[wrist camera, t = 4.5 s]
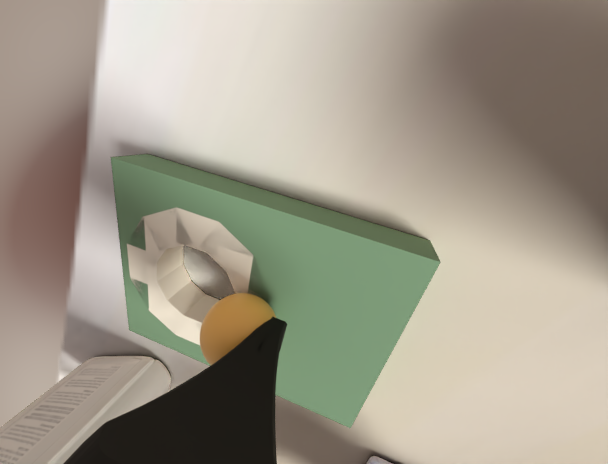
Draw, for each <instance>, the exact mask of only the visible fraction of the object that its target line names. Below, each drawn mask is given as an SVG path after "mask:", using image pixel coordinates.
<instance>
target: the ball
mask: <svg viewBox="0 0 608 464" xmlns="http://www.w3.org/2000/svg"><path fill="white" fill-rule="evenodd" d="M272 316H273V317H275V318H276V315H275V313H274V311H273V310H272V308H271V307H270V305H269V304H268V303H267V302H266V301H265V300H263V299H262V298H260V297H258V296H256V295H253V294H248V293H237V294H232V295H229V296H227V297H225V298H223V299H221V300H220V301H218V302H217V303H216V304H215V305H214V306H213V307H212V308H211V309H210V310H209V311H208V313H207V314H206V316H205V318H204V320H203V323H202V325H201V329H200V347H201V350H202V353H203V355H204V357H205V359H206V361H207V362H208V363H209V364H210V365H212V364H214V363H215V362H217V361H218V360H219V359H221V358H222V357H223V356H225V355H226V354H227V353H228V352H230V351H231V350H232V349H234V348H235V347H236V346H237V345H238V344H240V343H241V342H242V341H243V340H244V339H245V338H247V337H248V336H249V335H250V334H251V333H252V332H253V331H254V330H255V329H256V328H258V327H259V326H260V325H262V324H263V323H264V322H266V321H268V320H270V319H271V318H272Z"/></svg>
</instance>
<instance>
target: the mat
mask: <svg viewBox="0 0 608 464" xmlns="http://www.w3.org/2000/svg"><path fill="white" fill-rule="evenodd" d="M111 164H112V173H113V182H114V192H115V201H116V211H117V220H118V230H119V239H120V249H121V258H122V267H123V277H124V286H125V296H126V305H127V315H128V324H129V330H130V331H132V332H135V333H137V334H139V335H141V336H144V337H146V338H148V339H150V340H153V341H155V342H157V343H160V344H162V345H164V346H166V347H169V348H171V349H173V350H175V351H178V352H180V353H182V354H184V355H187V356H189V357H191V358H193V359H196V360H198V361H200V362H202V363H205V364H207V365H209V366H211V365H210V364H209V363H208V362H207V361H206V359H205V357H204V355H203V353H202V350H201V347H200V329H201V325H202V323H203V320H204V318H205V316H206V314H207V313H208V311H209V310H210V309H211V308H212V307H213V306H214V305H215V304H216V303H217V302H218V301H220V300H219V299H216V298H214V297H211V296H209V295H206V294H205V293H204V292H203V291H202V290H201V289H199V288H198V287H197V286H196V285H195V284H194V283H193V282H192V281H191V279H190V277H189V275H188V273H187V271H186V269H185V266H184V264H183V250H184V246H185V245H186V246H189V247H191V248H194V249H197V250H199V251H202V252H205V253H207V254H208V255H209V256H210V257H212V258H213V259H214V260H215V261H216V262H217V263H218V264H219V265H220V266H221V267H222V268H223V269H224V270H225V271H226V273H227V275H228V277H229V280H230V282H231V285H232V287H233V289H234V292H235V294H237V293H248V294H253V295H256V296H258V297H260V298H262V299H263V300H265V301H266V302H267V303H268V304H269V305H270V307H271V308H272V310H273V311H274V313H275V315H276V318H278V319H280V320H283V321H285V322H286V323H287V327H286V331H285V335H284V338H283V342H282V346H281V349H280V352H279V358H278V366H277V376H276V392H275V395H277V396H279V397H281V398H284V399H286V400H288V401H290V402H293V403H295V404H297V405H299V406H302V407H304V408H306V409H308V410H311V411H313V412H315V413H317V414H320V415H322V416H324V417H326V418H329V419H331V420H333V421H335V422H338V423H340V424H342V425H344V426H347V427H349V428H351V426H352V424H353V423H354V421H355V419H356V417H357V415H358V413H359V411H360V410H361V408H362V406H363V404H364V402H365V400H366V399H367V397H368V395H369V393H370V391H371V389H372V387H373V386H374V384H375V382H376V380H377V378H378V376H379V375H380V373H381V371H382V369H383V367H384V365H385V364H386V362H387V360H388V358H389V356H390V354H391V352H392V351H393V349H394V347H395V345H396V343H397V341H398V340H399V338H400V336H401V334H402V332H403V330H404V329H405V327H406V325H407V323H408V321H409V319H410V317H411V316H412V314H413V312H414V310H415V308H416V306H417V305H418V303H419V301H420V299H421V297H422V295H423V293H424V292H425V290H426V288H427V286H428V284H429V282H430V281H431V279H432V277H433V275H434V273H435V271H436V270H437V268H438V266H439V264H440V260H439V258H438V256H437V254H436V252H435V250H434V248H433V246H432V244H431V242H430V240H427V239H423V238H420V237H417V236H414V235H410V234H407V233H404V232H400V231H397V230H394V229H391V228H387V227H384V226H381V225H378V224H374V223H371V222H368V221H365V220H361V219H358V218H355V217H352V216H348V215H345V214H342V213H339V212H335V211H332V210H329V209H326V208H322V207H319V206H316V205H313V204H309V203H306V202H303V201H300V200H296V199H293V198H290V197H286V196H283V195H280V194H277V193H273V192H270V191H267V190H264V189H260V188H257V187H254V186H251V185H247V184H244V183H241V182H238V181H234V180H231V179H228V178H225V177H221V176H218V175H215V174H212V173H208V172H205V171H202V170H199V169H195V168H192V167H189V166H185V165H182V164H179V163H176V162H172V161H169V160H166V159H163V158H159V157H156V156H153V155H150V154H141V155H130V156H118V157H111Z"/></svg>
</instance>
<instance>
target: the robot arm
mask: <svg viewBox="0 0 608 464" xmlns="http://www.w3.org/2000/svg"><path fill="white" fill-rule="evenodd" d="M286 327H287V323H286V322H285V321H283V320H280V319H278V318H275V317H273V316H272V318H271V319H270V320H268V321H266V322H264V323H263V324H262V325H260V326H259V327H258V328H256V329H255V330H254V331H253V332H252V333H251V334H250V335H249V336H248V337H247V338H245V339H244V340H243V341H242V342H241V343H240V344H238V345H237V346H236V347H235V348H234V349H232V350H231V351H230V352H228V353H227V354H226V355H225V356H223V357H222V358H221V359H219V360H218V361H217V362H215V363H214V364H212V365H211V366H210V367H208V368H207V369H205V370H204V371H202V372H201V373H199V374H198V375H196V376H194V377H193V378H191V379H189V380H188V381H186V382H185V383H183V384H181V385H179V386H178V387H176V388H174V389H173V390H171V391H169V392H167V393H165V394H163V395H161V396H159V397H157V398H156V399H154V400H152V401H150V402H148V403H146V404H144V405H142V406H140V407H138V408H136V409H133V410H131V411H129V412H127V413H125V414H122V415H120V416H118V417H116V418H114V419H111V420H109V421H107V422H105V423H104V424H103V425H102V426H101V427H100V428H98V429H97V430H96V431H95V432H94V433H93V434H92V435H91V436H90V437H89V438H87V439H86V440H85V441H84V442H83V443H82V444H81V445H80V446H79V448H78V449H77V450H76V451H75V452H74V453H73V454H72V455H71V456H70V457H69V458H68V459H67V460H66V461H65V462H64V464H277V461H276V438H275V392H276V376H277V366H278V358H279V352H280V349H281V346H282V342H283V338H284V335H285V331H286ZM366 464H392V463H390V462H388V461H386V460H384V459H381V458H379V457H376V456H372V457H371V458H370V459H369V460H368V462H367V463H366Z"/></svg>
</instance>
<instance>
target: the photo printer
mask: <svg viewBox="0 0 608 464" xmlns="http://www.w3.org/2000/svg"><path fill="white" fill-rule="evenodd" d="M170 382H171V377H170V374H169V372H168V370H167V369H166V367H165V366H164V365H163V364H162V363H161V362H160V361H159V360H156V359H153V358H152V357H146V356H101V357H93V358H91V359H89V360H87V361H85V362H84V363H82V364H81V365H80V366H78V367H77V368H76V369H75V370H73V371H72V372H71V373H69V374H68V375H67V376H66V377H64V378H63V379H62V380H61V381H59V382H58V383H57V384H55V385H54V386H53V387H52V388H50V389H49V390H48V391H47V392H45V393H44V394H43V395H41V396H40V397H39V398H38V399H36V400H35V401H34V402H32V403H31V404H30V405H29V406H27V407H26V408H25V409H24V410H22V411H21V412H20V413H18V414H17V415H16V416H15V417H13V418H12V419H11V420H9V421H8V422H7V423H6V424H4V425H3V426H2V427H0V464H64V462H65V461H66V460H67V459H68V458H69V457H70V456H71V455H72V454H73V453H74V452H75V451H76V450H77V449H78V448H79V446H80V445H81V444H82V443H83V442H84V441H85V440H86V439H87V438H89V437H90V436H91V435H92V434H93V433H94V432H95V431H96V430H97V429H98V428H100V427H101V426H102V425H103V424H104V423H105V422H107V421H109V420H111V419H114V418H116V417H118V416H120V415H122V414H125V413H127V412H129V411H131V410H133V409H136V408H138V407H140V406H142V405H144V404H146V403H148V402H150V401H152V400H154V399H156V398H157V397H159V396H161V395H163V394H165V393H167V392H168V391H169V389H170V385H169V384H170Z"/></svg>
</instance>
